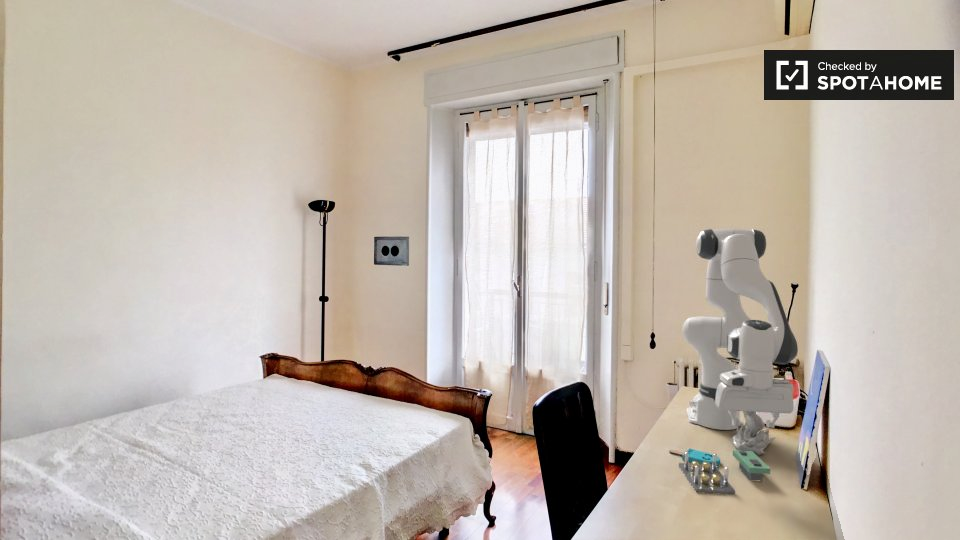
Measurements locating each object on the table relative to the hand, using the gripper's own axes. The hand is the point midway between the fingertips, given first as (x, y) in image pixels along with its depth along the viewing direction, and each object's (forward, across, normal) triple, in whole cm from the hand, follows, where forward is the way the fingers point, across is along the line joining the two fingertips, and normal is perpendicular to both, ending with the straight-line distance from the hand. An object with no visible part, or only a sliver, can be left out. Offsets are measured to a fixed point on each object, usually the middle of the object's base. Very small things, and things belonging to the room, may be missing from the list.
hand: (752, 426), depth 149 cm
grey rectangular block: (+14, 0, 0) cm, 14 cm away
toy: (+15, +13, -10) cm, 22 cm away
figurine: (+14, -9, -22) cm, 27 cm away
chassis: (+14, +14, +4) cm, 20 cm away
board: (+11, 0, 0) cm, 11 cm away
